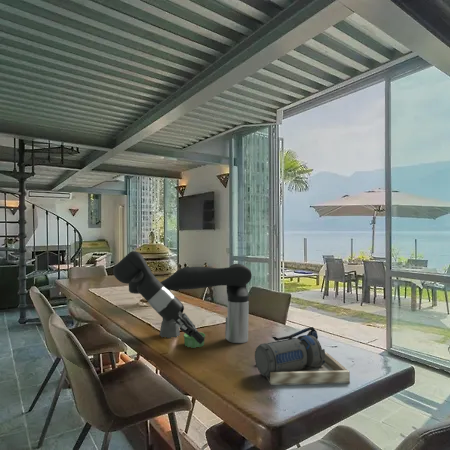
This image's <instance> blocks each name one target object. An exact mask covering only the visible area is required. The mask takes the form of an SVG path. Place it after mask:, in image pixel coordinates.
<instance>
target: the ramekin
mask: <svg viewBox="0 0 450 450" xmlns="http://www.w3.org/2000/svg"><path fill="white" fill-rule="evenodd" d="M198 332H199V333H200V334H201V335H202V336H203V337H204V341H203V342H202V343H201V344H199V343H198V342H197V341H196V340H195V339H194V338H193V337H192V336H191V337H190V336H189V335H187V334H186V333H184V334H183V339H184V347H186V346H187V347H186V348H189V347H191V348H190V349H197V348H196V347H199V348H202V347H204V345H205V338H206V334H205V333H204V332H201V331H198Z"/></svg>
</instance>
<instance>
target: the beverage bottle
mask: <svg viewBox="0 0 450 450" xmlns="http://www.w3.org/2000/svg"><path fill="white" fill-rule="evenodd" d="M306 332H308V333H307V334H304V333H306ZM303 334H304V335H303ZM271 338H272V339H273V340H274V341H271V342H267V343H261V344H259V345H258V346H257V347H256V349H255V351H254V360H255V361H254V362H255V366H256V368H257V370H258V371H259V373H260V375H262V376H263V377H265V378H267V377H270V372H290V371H295V370H300V369H303V368H304V367H306V368H307V367H313V368H317V367H321V366H322V365H323V364H324V363H325V360H324V359H325V352H326V351H325V349H324V348H322V345H321V343H320V341H319V339H318V338H319V337H318V332H317V330H316V329H315V328H314V326H312V327H311V326H310V327H305V328H303V329H301V330H299V331H296V332H294V333H292V334H290V335H287V336H282V337H277V336H271Z"/></svg>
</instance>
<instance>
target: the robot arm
mask: <svg viewBox="0 0 450 450" xmlns="http://www.w3.org/2000/svg"><path fill="white" fill-rule="evenodd" d="M112 271H113V276H114V277H115V279H116V280H117V281H119V282H121V283H123V284H126V285H127V284H128V291H129V293H130V294H135V295H137V294H139V295H140V296H142V297H143V299H145V301H147V303H148V304H149V306H151V308H152V309H153V310H154V311H155V312H156V313H157V314H158V315H159V316H160V317H161V318H162V320H163V319H164V320H165V321H166V322H169V321H170V320H171V319H174V320H175V322H176V323H175V324H176V325H177V326H178V327H179V331H180V332H183V333H184V334H185V333H186V334H187V335H189V336H190V337H191V336H192V337H193V338H194V339H195V340H196V341H197V342H198V343H199V344H201V343H202V342H203V341H204V342H205V339H204V337H203V336H202V335H201V334H200V333H199V332H200V331H198V329H197V327H196V324H194V323H193V321H192V320H191V319H190V318H189V316H188V315H187V314H186V313H185V312H183V313H182V312H180V310H181V309H182V308H183V306H184V304H183V303H182V301H181V300H179V299H178V298H177V297H176V296H175V295H174V293H173V292H172V291H175V290H176V291H177V290H178V291H179V290H195V289H205V288H213V287H219V286H226V295H227V316H226V317H225V338H224V339H225V340H227V342H229V343H233V344H244V343H247V342H249V310H250V309H249V305H250V301H249V300H250V299H249V293H248V289H247V285H248V284H249V282H250V281H251V280H252V274H253V273H252V272H251V270H250V268H249V266H248V267H247V265H245V264H241V263H234V264H233V263H232V264H231V265H229V266H228V267H220V268H218V267H209V266H187V267H186V266H185V267H181V268H180V269H178V270H176V271H175V272H174V273H172V274H171V275H170V276H169V277H167V278H165V279H164V280H162V281H160V280H159V279H158V278H157V277H156V276H155V275H154V274H153V272H152V270H151V267H149V265H148V264H147V261H146V259H145V257H144V256H143V255H142V253H140V252H139V251H135V250H134V251H133V250H132V251H130V252H128V253H127V254H126V255H125V256H124V257H123V258H122V259H121V260H120V261H118V263H117V264H115V266H114V267H113V270H112Z"/></svg>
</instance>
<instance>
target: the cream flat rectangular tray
mask: <svg viewBox="0 0 450 450" xmlns="http://www.w3.org/2000/svg"><path fill="white" fill-rule="evenodd" d="M324 360H325V363H324V364H323V365H322V366H321V367H317V368H313V367H307V368H306V367H304V368H303V369H300V370H295V371H290V372H270V377H266V380H267V381H268V382H269V384H270V386H289V385H291V386H294V385H295V386H296V385H298V386H299V385H326V384H329V385H330V384H351V375H350V373H351V372H350V371H349V370H348V369H347V367H345V366H344V365H342V364H341V363H340V362H339V361H337V359H336V358H334V357H333V356H332V355H330V354H329V353H328V352H326V351H325V359H324Z"/></svg>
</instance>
